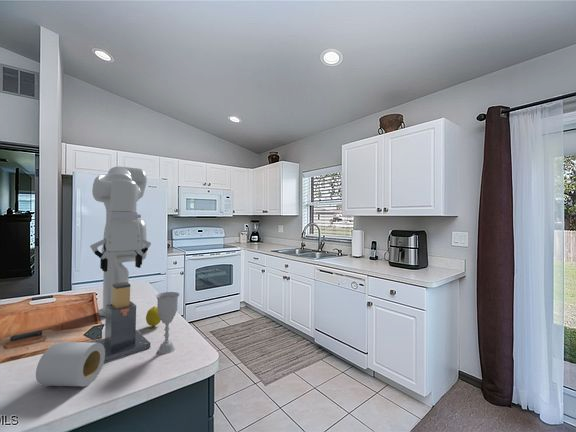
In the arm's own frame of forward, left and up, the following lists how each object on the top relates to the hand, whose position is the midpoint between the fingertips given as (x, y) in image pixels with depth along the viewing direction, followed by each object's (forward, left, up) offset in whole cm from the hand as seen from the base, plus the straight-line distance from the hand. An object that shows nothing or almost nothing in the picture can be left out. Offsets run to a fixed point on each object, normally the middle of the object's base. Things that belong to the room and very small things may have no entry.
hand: (122, 269), depth 88 cm
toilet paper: (+11, -14, -26) cm, 32 cm away
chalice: (+12, +10, -26) cm, 30 cm away
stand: (0, 0, -26) cm, 26 cm away
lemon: (-9, +14, -26) cm, 31 cm away
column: (0, 0, -24) cm, 24 cm away
